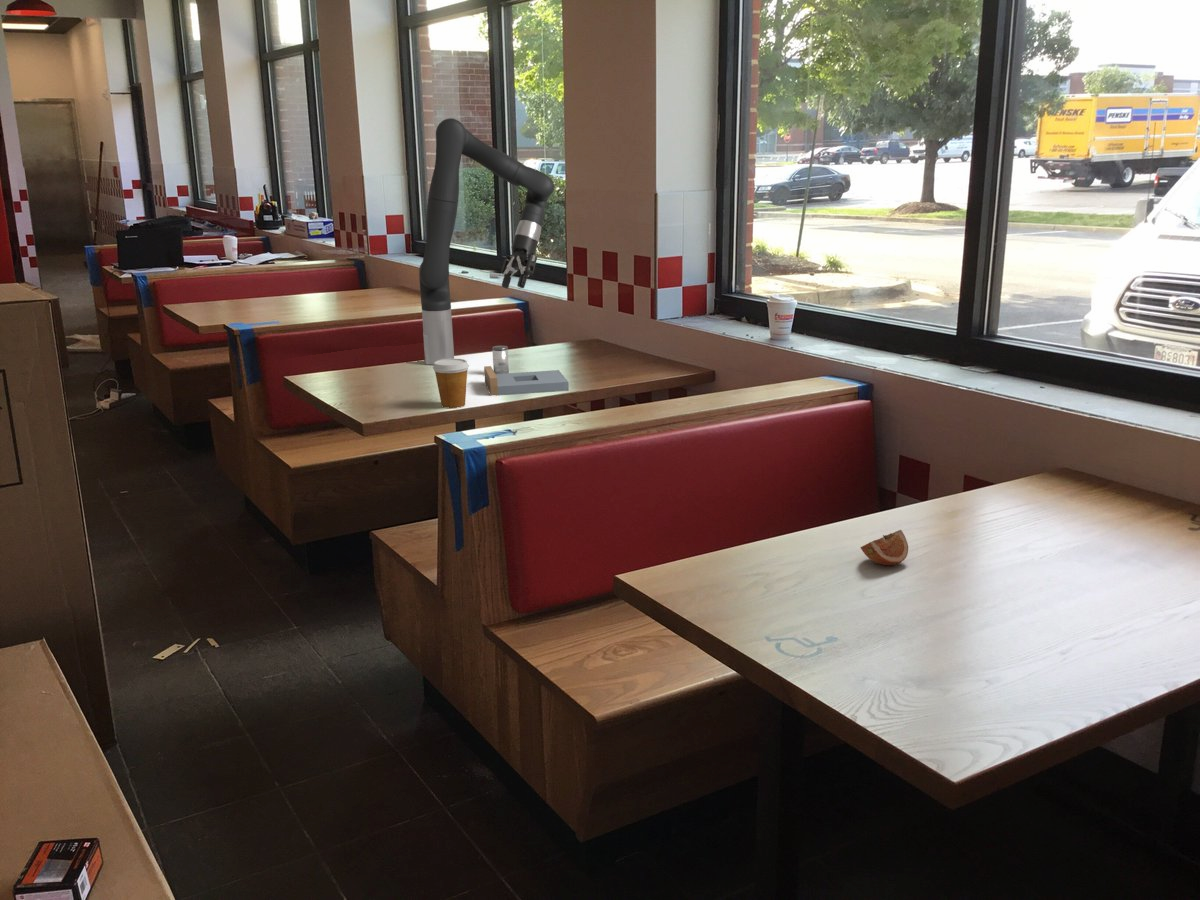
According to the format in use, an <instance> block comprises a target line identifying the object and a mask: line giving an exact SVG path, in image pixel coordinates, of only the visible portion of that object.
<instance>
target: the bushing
mask: <svg viewBox="0 0 1200 900" xmlns="http://www.w3.org/2000/svg"><path fill="white" fill-rule="evenodd" d="M492 365H493V367H492V369H493V371H494V373H495V374H506V373H510V369H509V347H508V346H507V345H495V346H492Z"/></svg>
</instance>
